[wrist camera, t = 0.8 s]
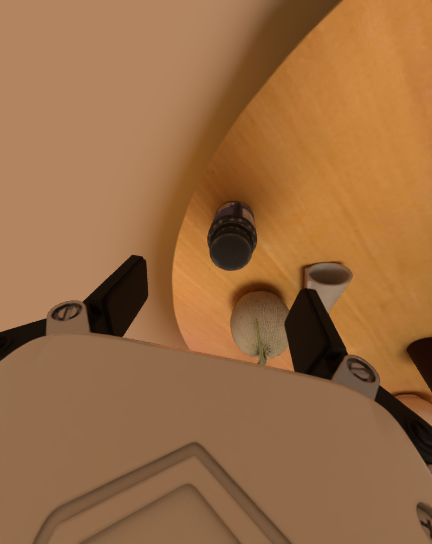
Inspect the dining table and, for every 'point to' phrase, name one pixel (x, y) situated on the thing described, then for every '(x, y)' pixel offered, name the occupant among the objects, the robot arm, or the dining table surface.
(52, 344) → the robot arm
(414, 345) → the coffee mug
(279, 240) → the dining table surface
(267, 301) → the fruit
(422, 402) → the lidded bowl
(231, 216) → the pill bottle
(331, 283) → the long tapered cone
